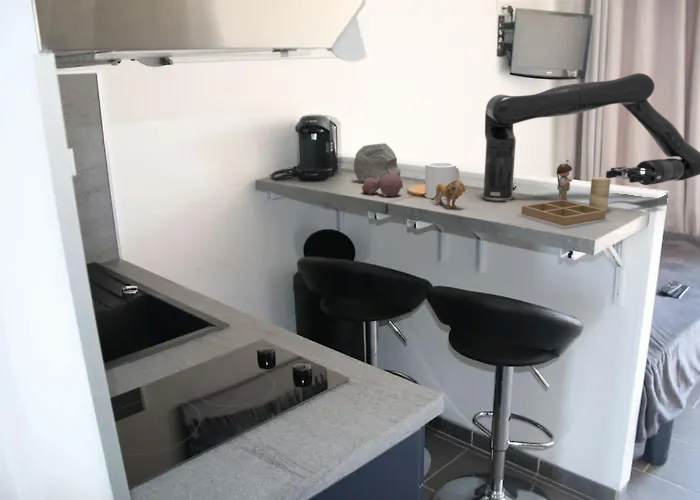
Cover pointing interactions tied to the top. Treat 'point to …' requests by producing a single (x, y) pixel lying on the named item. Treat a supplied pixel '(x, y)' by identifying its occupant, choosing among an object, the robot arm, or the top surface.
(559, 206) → the wooden compartment tray
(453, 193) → the lion figurine
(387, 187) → the toy
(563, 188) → the toy
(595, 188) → the peg
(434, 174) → the mug
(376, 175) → the stone
